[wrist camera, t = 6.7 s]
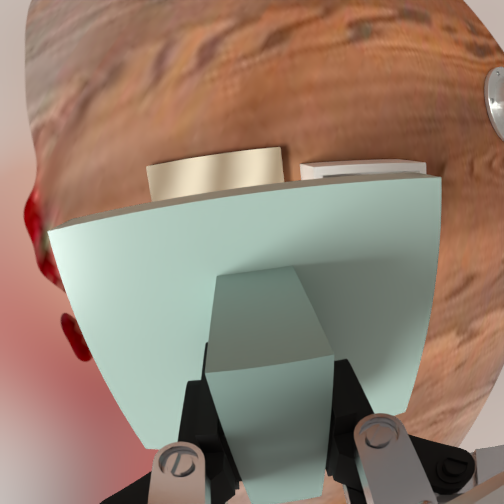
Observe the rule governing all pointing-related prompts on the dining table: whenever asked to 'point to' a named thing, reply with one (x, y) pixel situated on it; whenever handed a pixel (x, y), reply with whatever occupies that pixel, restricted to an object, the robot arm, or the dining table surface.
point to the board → (215, 173)
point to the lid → (259, 310)
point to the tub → (359, 168)
